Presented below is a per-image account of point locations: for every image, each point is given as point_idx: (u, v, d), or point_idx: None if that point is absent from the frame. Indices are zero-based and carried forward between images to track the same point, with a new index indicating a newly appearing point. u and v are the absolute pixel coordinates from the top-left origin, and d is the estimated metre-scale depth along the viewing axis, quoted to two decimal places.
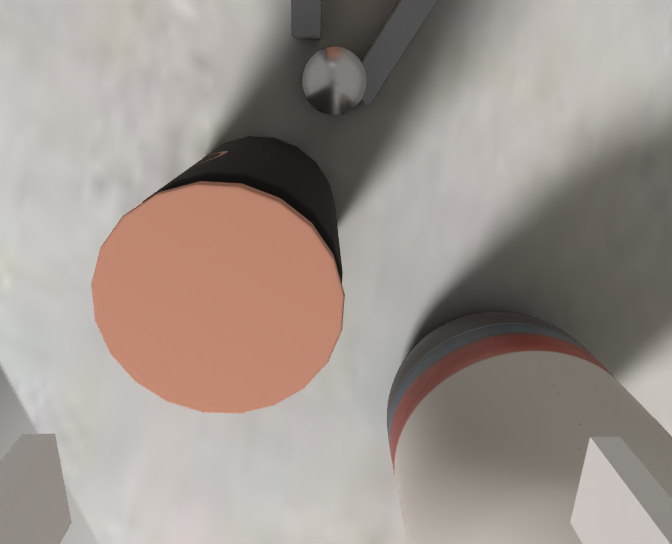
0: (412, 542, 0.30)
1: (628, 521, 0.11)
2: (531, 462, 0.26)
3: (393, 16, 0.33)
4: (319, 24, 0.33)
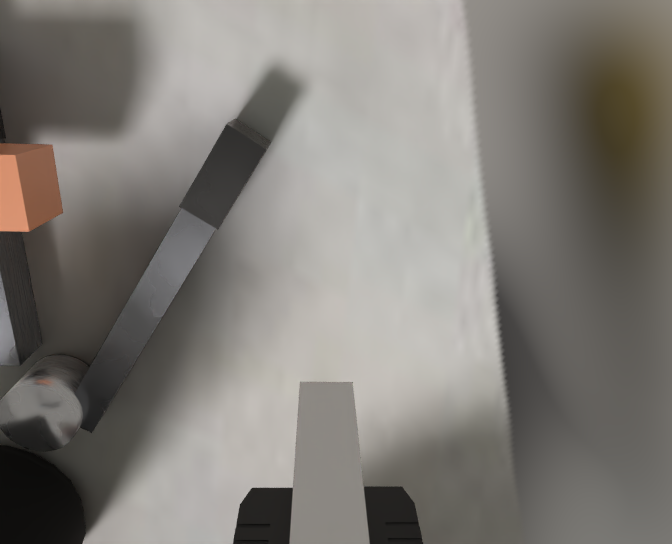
0: None
1: None
2: None
3: (103, 347, 0.27)
4: (15, 354, 0.27)
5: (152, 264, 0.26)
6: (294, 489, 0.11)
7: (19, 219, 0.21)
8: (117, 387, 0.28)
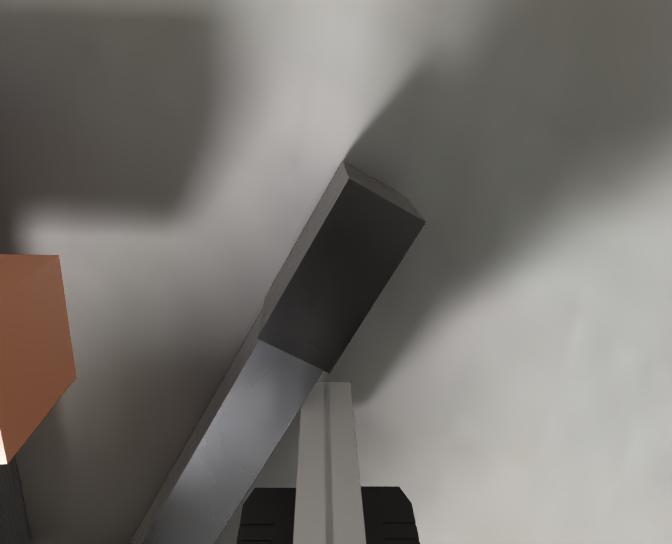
0: None
1: None
2: None
3: None
4: None
5: (208, 438, 0.14)
6: (297, 489, 0.11)
7: None
8: None
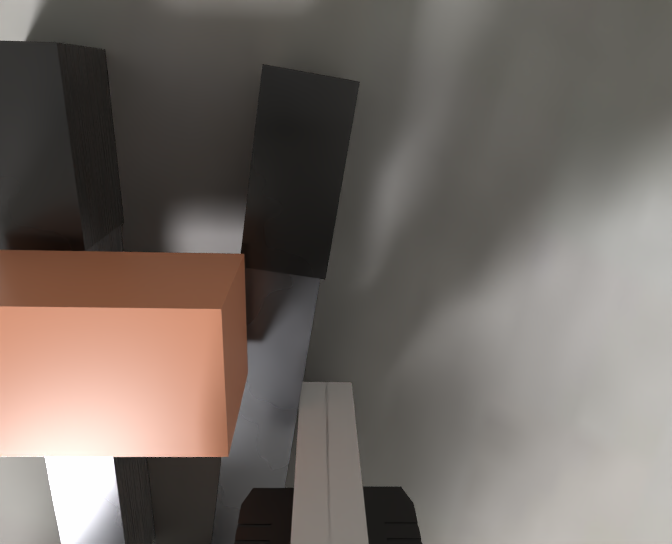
0: None
1: None
2: None
3: None
4: None
5: None
6: (295, 489, 0.11)
7: (211, 434, 0.10)
8: None
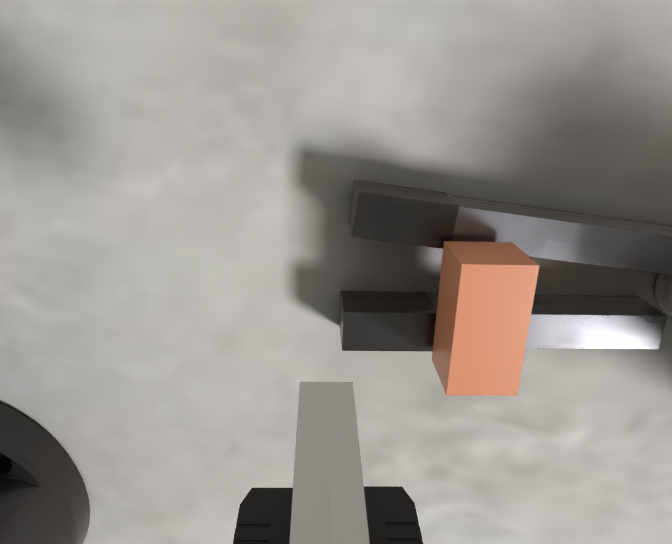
0: None
1: None
2: None
3: (632, 268, 0.24)
4: (653, 317, 0.26)
5: None
6: (294, 489, 0.11)
7: (525, 272, 0.20)
8: None
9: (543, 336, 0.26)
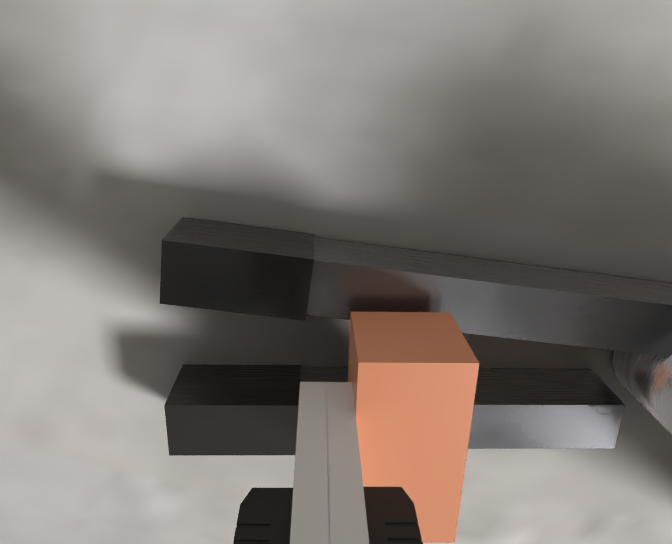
0: None
1: None
2: None
3: (572, 343, 0.17)
4: (605, 407, 0.18)
5: None
6: (294, 489, 0.11)
7: (458, 373, 0.13)
8: (642, 303, 0.17)
9: None
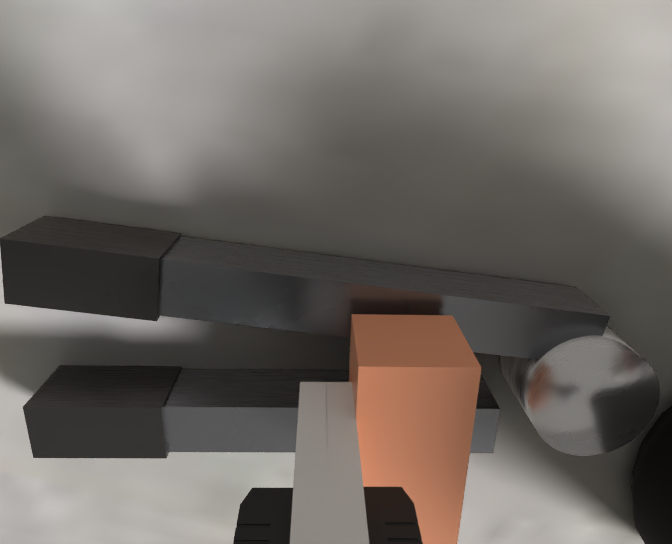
0: None
1: None
2: None
3: None
4: (480, 411, 0.18)
5: (267, 323, 0.16)
6: (294, 489, 0.11)
7: (460, 377, 0.13)
8: (505, 305, 0.16)
9: None
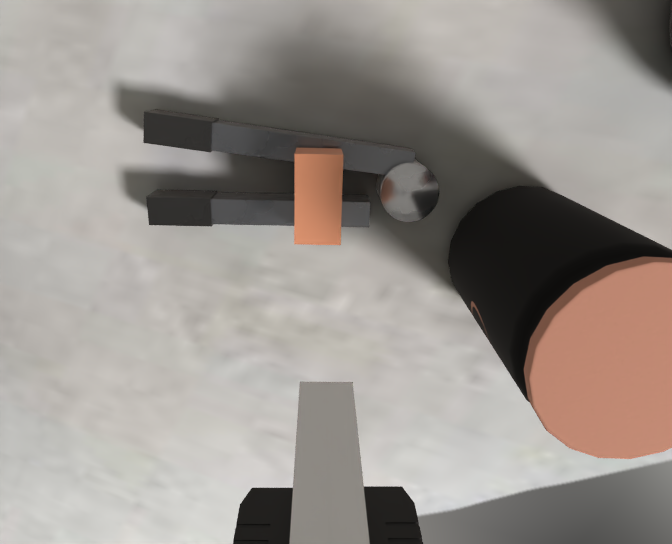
0: None
1: None
2: None
3: None
4: (360, 203, 0.38)
5: (259, 155, 0.36)
6: (294, 489, 0.11)
7: (335, 159, 0.33)
8: (367, 146, 0.36)
9: (287, 216, 0.38)
